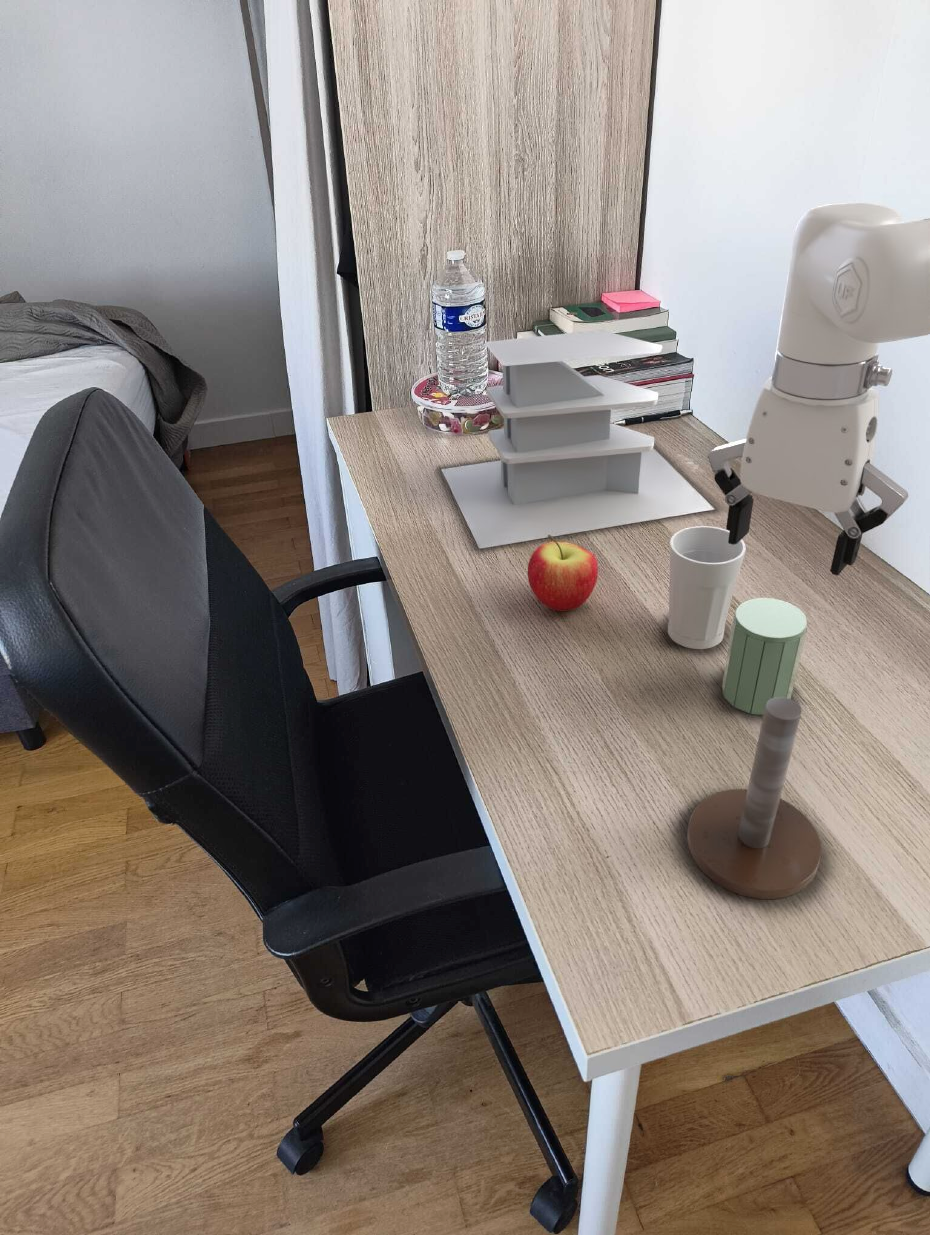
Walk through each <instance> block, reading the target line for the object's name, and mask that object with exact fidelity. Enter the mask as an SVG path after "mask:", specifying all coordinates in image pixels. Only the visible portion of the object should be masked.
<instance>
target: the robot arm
mask: <svg viewBox="0 0 930 1235" xmlns="http://www.w3.org/2000/svg"><path fill="white" fill-rule="evenodd" d="M792 242H793V243H792V246H791V254H790V260H789V266H788V272H787V280H786V286H785V291H784V297H783V303H782V309H781V310H782V311H781V317H780V324H779V330H778V337H777V341H776V342H777V343H776V350H775V357H774V362H773V367H772V368H773V370H772V374H771V375H772V376H770V377H769V378H767V379H766V381H764V383H763V385H762V387H761V390H760V392H759V395H758V398H757V401H756V403H755V406H754V410H753V413H752V416H751V419H750V423H749V427H748V431H747V434H746V438H744V439H741V440H737V441H733V442H729V443H726V444H722V445H718V446H716V447H714V448H712V449H711V450H710V451H709V452H708V453H707V459H708V462H709V465H710V468H711V471H712V473H713V474H714V478H713V479H714V482H715V484H717V486H718V487H719V489H720V490H721V492H722V493H723V494H724V496H725V497H724V501H725V503H726V505H728V513H727V519H726V526H725V530H728V531H730V533H729V540H728V543H729V544H732V545H735V544H737V543H738V542H739V541H740V540H741V539H742V540H743V539H744V538H745V537H746V536H747V535H748V534H749V532H750V528H751V527H750V525H751V519H752V514H753V507H754V500H755V499H754V498H753V496H754V495H753V494H756V495H760V496H764V497H767V498H771V499H775V500H779V501H782V502H786V503H790V504H794V505H799V506H801V507H805V508H809V509H810V508H811V509H814V510H818V511H822V512H827V513H832V514H834V516H835V517H836V519H837V520H838V523H839V524H840V525H841V527H842V529H843V530H842V531H841V532H840V534H839V535H838V536H837V539H836V543H835V548H834V551H833V552H834V553H833V557H832V560H831V566H830V570H829V572H830V573H831V575H833V576H839V575H840V574H841V573H842V572H843V571H844V569H845V568H846V567H847V566H852V567H853V565H854V563H855V562H856V561H857V558H858V554H859V550H860V546H861V543H862V538H863V534H865V533H866V532H869V531H870V530H873V529H875V528H877V527H879V526H881V525H883V524H884V523H885V522H886V521H887V520H888V519H889V518H890V517H891V516H893V514H894V513H895V512H897V510H898V509H899V508H900V507H901V506H902V505H904V504H905V502H906V501H907V499H908V498H909V492H908V491H907V490H906V489H905V488H903V487H902V486H900V484H898V483H896V482H895V481H894V480H893V479H892V478H890V477H889V476H887V474H885V473H884V472H882V471H881V470H879V468H877V467H876V466H874V465H873V461H874V455H875V449H876V441H877V434H878V433H877V432H878V425H879V424H878V422H879V404H880V403H879V402H880V400H879V392H878V390H876V389H874V388H872V387H877V386H882V387H888V385H890V384H889V383H890V381H891V378H892V375H893V369H892V368H889V367H884V366H883V365H880V364H879V363H880V362H879V360H878V359H879V355H880V354H879V353H877V352H878V349H879V344H883V343H891V342H897V341H903V340H907V339H912V338H919V337H924V336H928V335H930V218H923V219H919V220H913V221H912V220H911V221H905V222H904V221H903V218H902V216H901V214H900V213H898V211H897V210H895V209H893V208H892V207H888V206H886V205H883V204H876V203H867V202H865V203H864V202H840V203H839V202H838V203H837V202H836V203H829V204H823V205H818V206H816V207H813V208H811V209H809V210H807V211H806V212H805V213H804V214H803V215H801V217H800V219H799V220H798V222H797V225H796V227H795V230H794V235H793V241H792ZM738 458H741V462H740V469H739V476H738V474H737V473H736V472H735V470H734V469H733V468H732V467H731V466H730V465H731V463H730V460H733V459H738ZM867 489H868V490H870V491H871V492H872V493H874V495H876V496H878V497H879V498H880V500H881V503H879V505H877V506H875V507H874V508H872V509H870V510H869V509H868V510H867V509H866V507H865V505H864V504H863V502H862V500H861V498H860V497H859V496H861V497H862V496H863V495H864V494H865V492H866V490H867ZM752 493H753V494H752Z"/></svg>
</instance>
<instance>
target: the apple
mask: <svg viewBox="0 0 930 1235" xmlns="http://www.w3.org/2000/svg"><path fill="white" fill-rule="evenodd" d="M547 538H549V539H551V540H552V541H549V542H545V543H543V544H540V545H539V546H538V547H537V548H536V549H535V550H534V551H533V552H532V554H531V556H530V558H529V560H528V565H527V580H528V583H529V586H530V589H531V591H532V593H533V595H534V597H536V599H537V600H538V601H539V602H540V603H541V604H542V605H544V606H545V607H546V608H548V609H551V610H553V611H558V612H566V611H572V610H575V609H579V607H581V606H582V605H584V604H585V603H586V601H587V600H588V599H589V597H590V596H591V594H592V593H593V591H594V589H595V587H596V583H597V581H598V576H599V565H598V561H597V558H596V557H595V555H594V554H593V553H592V552H590V551H589V550H588V549H585V548H584V547H581V546H579V545H577V544H575V543H570V542H566V541H557V540H556V539H555V538H554V536H553V537H552V536H551V535H548V537H547Z"/></svg>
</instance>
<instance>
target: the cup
mask: <svg viewBox="0 0 930 1235" xmlns="http://www.w3.org/2000/svg"><path fill="white" fill-rule="evenodd" d="M729 533H730V531H729V530H727V529H726V528H721V527H717V526H711V525H710V526H708V525H697V526H689V527H685V528H682V529H680V530H678V531H676V532H675V533H674V534H672V536H671V537H670V540H669V588H668V589H669V590H668V592H669V594H668V623H667V624H668V625H667V634H668V637H670V639H671V640H672V641H673V642H674V643H676V644H678V645H679V646H682V647H684V648H686V649H687V648H688V649H691V650H692V649H693V650H706V649H707V650H708V649H711V648H714V647H716V646H718V645H719V644H720V643H721V642H722V641H723V639H724V634H725V628H726V623H727V619H728V614H729V611H730V606H731V604H732V600H733V599H732V598H733V595H734V591H735V588H736V584H737V580H738V577H739V576H740V572H741V568H742V565H743V560H744V558H745V554H746V551H747V550H746V549H747V547H746V543H745V541H744V539H743V538H742V539H741V540H740V541H739V542H738V543H737V544H735V545H732V544H729V543H728V540H729Z"/></svg>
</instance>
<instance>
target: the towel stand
mask: <svg viewBox="0 0 930 1235" xmlns="http://www.w3.org/2000/svg"><path fill="white" fill-rule="evenodd" d="M802 712H803V710H802V707H801V705H800V704H799V703H798V702H796V701H795V700H794V699H792V698H791V699H789V698H785V697H775V698H772V699H770V700H768V701H767V703H766V706H765V711H764V715H762V720H761V725H760V730H759V734H758V738H757V743H756V749H755V752H754V758H753V762H752V767H751V770H750V776H749V780H748V785H747V788H734V789H726V790H721V791H719V792H716V793H713V794H711V795H709V796H707V797H706V798H704V799H702V800H701V801H700V802H699V803H698V804H697V805H696V806H695V808H694V809H693V811H692V813H691V815H690V817H689V820H688V821H689V822H688V825H687V833H686V834H687V835H686V838H687V845H688V846H687V847H688V849H689V852H690V854H691V856H692V858H693V860H694V862H695V864H696V865H697V866H698V867H699V869H700V870H701V871H702V873H704V875H706V876H707V877H708V878H710V880H712V881H713V882H714V883H716V884H717V885H718V886H720V887H721V888H724V889H725V890H727V891H730V892H732V893H735V894H738V895H740V896H744V897H747V898H751V899H758V900H777V899H782V898H787V897H790V896H794V895H795V894H797V893H799V892H801V891H802V890H804V889H806V887H808V886H809V885H810V884H811V883H812V881H813V880H814V878H815V877H816V876H817V875H816V874H817V872H818V870H819V866H820V863H821V858H822V845H821V840H820V837H819V834H818V832H817V830H816V829H815V827H814V825H813V824H812V822H811V821H810V820H809V819H808V817H807V816H806V815H805V814H804V813H803V812H802V811H800V810H799V809H798V808H796V807H795V806H794V805H793V804H791V803H789V802H788V801H787V800H784V799H782V798H781V797H782V793H783V788H784V786H785V785H784V784H785V781H786V777H787V773H788V769H789V764H790V761H791V757H792V753H793V749H794V745H795V741H796V736H797V734H798V733H797V731H798V729H799V726H800V721H801V716H802Z"/></svg>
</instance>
